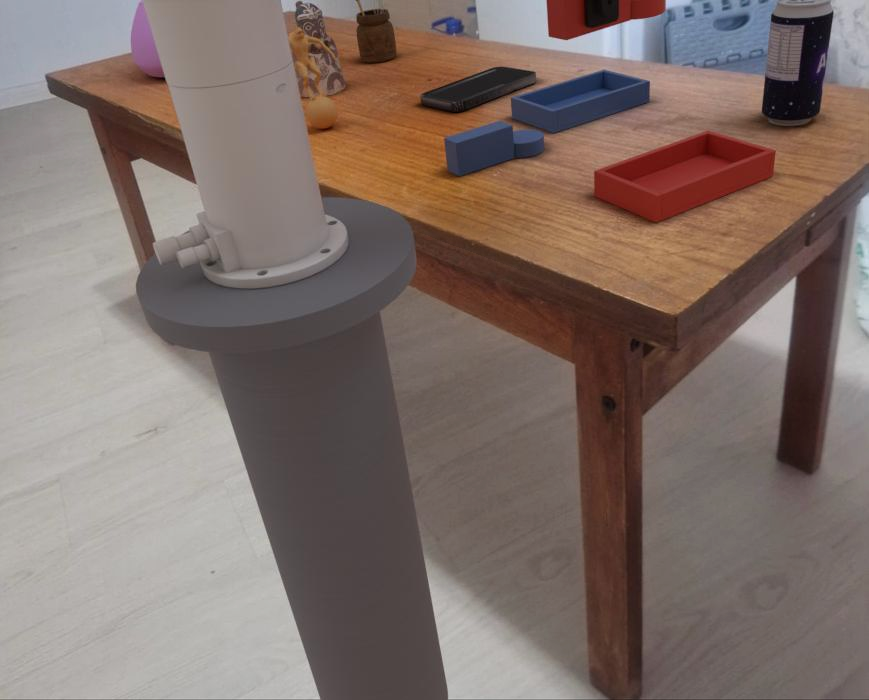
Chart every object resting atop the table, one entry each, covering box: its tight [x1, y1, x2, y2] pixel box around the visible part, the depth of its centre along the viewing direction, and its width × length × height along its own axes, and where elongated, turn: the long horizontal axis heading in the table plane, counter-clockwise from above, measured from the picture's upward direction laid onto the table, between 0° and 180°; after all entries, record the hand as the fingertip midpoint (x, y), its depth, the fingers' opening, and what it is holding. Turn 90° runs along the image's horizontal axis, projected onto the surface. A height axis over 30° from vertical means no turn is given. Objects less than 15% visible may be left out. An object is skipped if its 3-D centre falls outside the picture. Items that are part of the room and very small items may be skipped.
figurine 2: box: [288, 27, 339, 130], centre depth 101 cm, size 8×6×12 cm
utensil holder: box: [355, 0, 397, 64], centre depth 128 cm, size 6×6×12 cm
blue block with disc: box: [443, 120, 545, 178], centre depth 86 cm, size 11×4×4 cm, turn 120°
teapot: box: [130, 0, 165, 78], centre depth 138 cm, size 22×22×14 cm
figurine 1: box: [291, 0, 346, 98], centre depth 116 cm, size 7×7×12 cm
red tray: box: [593, 130, 777, 223], centre depth 75 cm, size 14×8×2 cm, turn 120°
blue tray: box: [510, 69, 651, 134], centre depth 97 cm, size 14×8×2 cm, turn 120°
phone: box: [419, 66, 537, 113], centre depth 108 cm, size 8×1×15 cm
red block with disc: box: [545, 0, 667, 41], centre depth 69 cm, size 11×4×4 cm, turn 121°
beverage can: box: [761, 0, 835, 127], centre depth 84 cm, size 6×6×12 cm
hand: (589, 20), depth 69 cm, fingers closed on red block with disc, 2 cm apart
